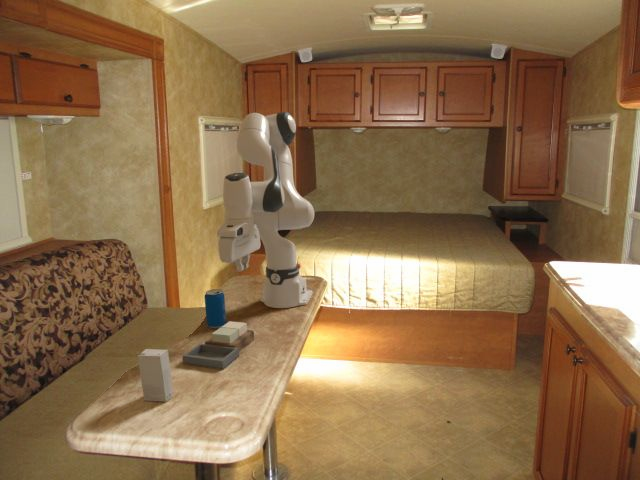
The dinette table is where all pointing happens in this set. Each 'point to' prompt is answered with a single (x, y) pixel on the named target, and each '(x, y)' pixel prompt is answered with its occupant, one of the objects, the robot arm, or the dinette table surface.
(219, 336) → the tile front
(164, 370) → the skincare box
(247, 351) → the dinette table surface
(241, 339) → the walnut plate
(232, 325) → the tile back
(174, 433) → the dinette table surface
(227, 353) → the box
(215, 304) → the beverage can
